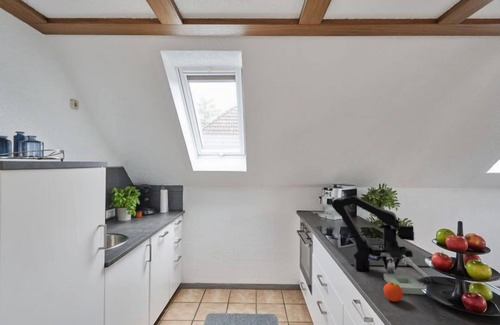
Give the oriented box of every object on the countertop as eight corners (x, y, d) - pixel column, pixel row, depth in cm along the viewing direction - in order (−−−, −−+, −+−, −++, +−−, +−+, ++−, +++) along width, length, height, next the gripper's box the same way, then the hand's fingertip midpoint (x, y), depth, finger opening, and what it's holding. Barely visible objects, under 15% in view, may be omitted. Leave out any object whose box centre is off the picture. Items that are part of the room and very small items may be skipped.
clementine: (399, 295, 109) (398, 278, 109) (409, 304, 102) (409, 286, 102) (380, 296, 109) (379, 279, 109) (389, 305, 102) (389, 287, 102)
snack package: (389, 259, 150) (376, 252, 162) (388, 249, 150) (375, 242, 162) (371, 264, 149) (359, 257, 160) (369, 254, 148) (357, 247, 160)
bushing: (387, 273, 128) (387, 259, 128) (384, 270, 132) (384, 256, 132) (396, 274, 127) (396, 259, 127) (393, 270, 131) (392, 256, 131)
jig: (396, 293, 111) (396, 287, 111) (383, 278, 125) (383, 273, 125) (426, 294, 110) (426, 288, 110) (410, 279, 124) (410, 274, 124)
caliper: (402, 264, 144) (402, 252, 144) (404, 264, 144) (404, 252, 144) (428, 280, 123) (428, 267, 123) (431, 280, 123) (430, 267, 123)
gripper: (376, 242, 123) (376, 275, 122) (418, 243, 120) (419, 276, 120) (368, 235, 134) (368, 266, 134) (406, 236, 131) (407, 267, 131)
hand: (390, 269), depth 129 cm, fingers closed on bushing, 4 cm apart
